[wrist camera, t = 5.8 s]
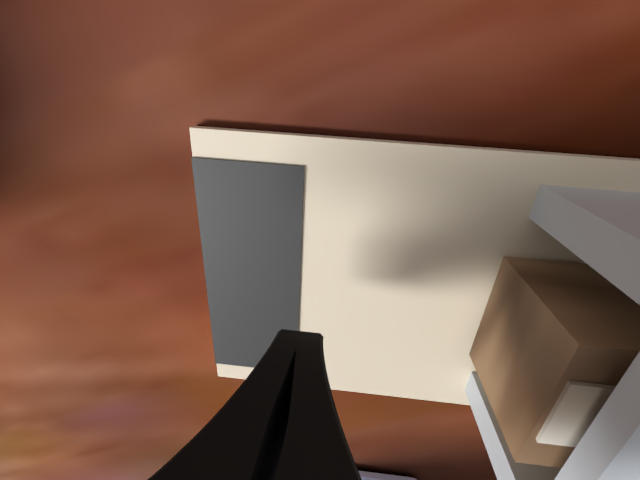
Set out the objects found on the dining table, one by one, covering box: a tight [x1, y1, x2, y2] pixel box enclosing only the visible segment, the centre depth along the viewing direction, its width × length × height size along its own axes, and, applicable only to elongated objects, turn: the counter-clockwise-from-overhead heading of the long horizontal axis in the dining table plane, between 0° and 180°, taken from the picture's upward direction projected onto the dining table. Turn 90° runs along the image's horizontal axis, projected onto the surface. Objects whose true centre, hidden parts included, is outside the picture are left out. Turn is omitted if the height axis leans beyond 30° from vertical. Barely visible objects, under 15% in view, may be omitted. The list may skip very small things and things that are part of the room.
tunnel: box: [189, 126, 640, 480], centre depth 10 cm, size 12×28×7 cm, turn 87°
